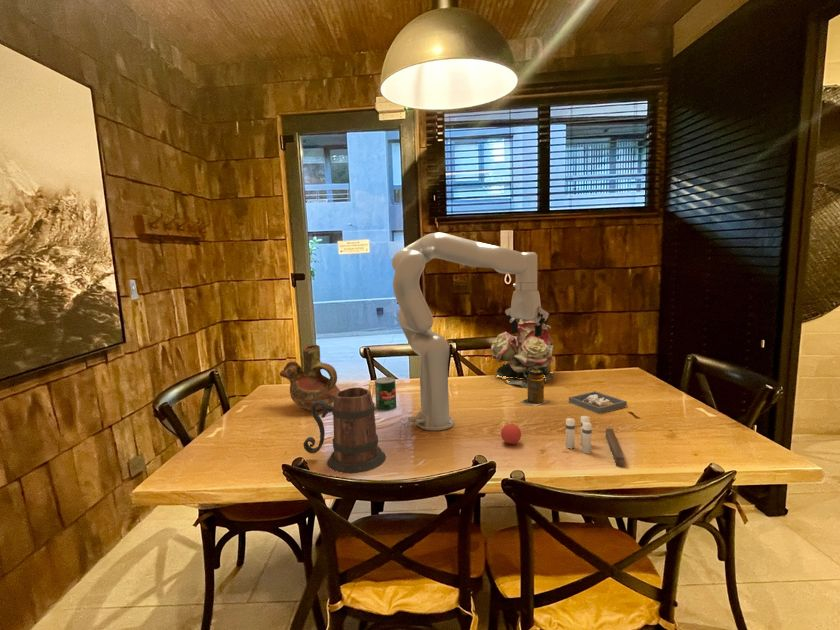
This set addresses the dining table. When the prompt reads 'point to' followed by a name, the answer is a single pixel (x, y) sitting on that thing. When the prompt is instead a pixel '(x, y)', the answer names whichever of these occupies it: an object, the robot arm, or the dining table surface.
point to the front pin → (570, 433)
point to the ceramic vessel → (311, 379)
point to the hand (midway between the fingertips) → (526, 334)
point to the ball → (511, 433)
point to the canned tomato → (385, 393)
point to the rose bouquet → (523, 352)
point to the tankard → (350, 432)
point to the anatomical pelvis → (595, 400)
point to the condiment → (535, 388)
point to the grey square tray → (577, 401)
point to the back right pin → (586, 437)
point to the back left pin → (583, 419)
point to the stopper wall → (615, 447)
